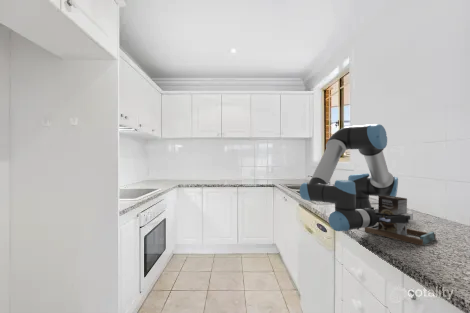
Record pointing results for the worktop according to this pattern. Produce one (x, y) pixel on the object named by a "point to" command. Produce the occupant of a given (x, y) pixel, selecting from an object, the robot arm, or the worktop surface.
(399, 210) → the coffee box
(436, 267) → the worktop surface
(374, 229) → the rectangular frame
